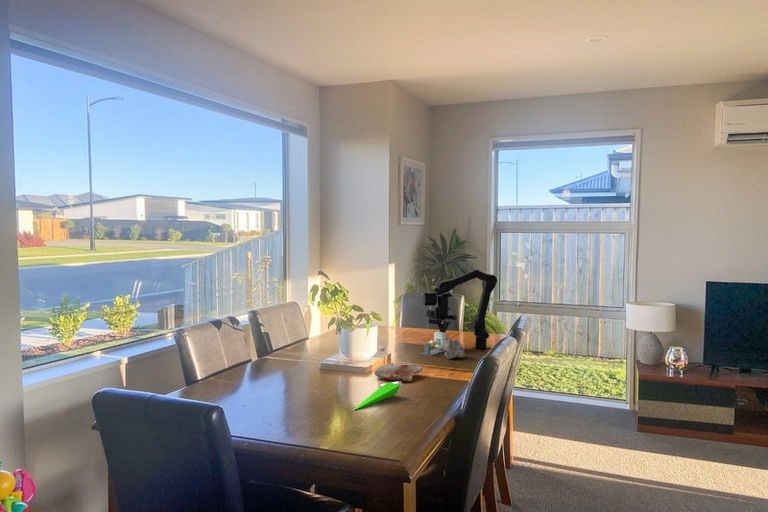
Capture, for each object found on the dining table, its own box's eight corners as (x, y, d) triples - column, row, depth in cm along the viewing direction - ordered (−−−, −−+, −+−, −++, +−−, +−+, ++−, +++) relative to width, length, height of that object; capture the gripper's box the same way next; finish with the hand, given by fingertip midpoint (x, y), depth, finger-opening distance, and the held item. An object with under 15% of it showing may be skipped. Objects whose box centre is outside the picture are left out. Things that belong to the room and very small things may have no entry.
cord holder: (441, 347, 297) (441, 335, 297) (451, 349, 294) (451, 336, 293) (421, 354, 282) (421, 341, 282) (431, 356, 279) (431, 342, 278)
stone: (419, 390, 231) (421, 377, 246) (421, 375, 230) (423, 363, 245) (371, 381, 233) (377, 369, 248) (373, 367, 232) (379, 355, 247)
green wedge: (365, 421, 194) (405, 392, 213) (359, 406, 194) (401, 379, 213) (342, 423, 201) (383, 395, 220) (337, 409, 201) (379, 382, 220)
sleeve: (437, 345, 293) (437, 331, 292) (445, 346, 290) (445, 332, 289) (433, 346, 290) (434, 332, 290) (442, 347, 287) (442, 333, 287)
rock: (465, 364, 275) (465, 346, 281) (461, 353, 266) (461, 334, 272) (447, 365, 277) (447, 347, 283) (442, 354, 268) (442, 335, 274)
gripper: (439, 302, 303) (439, 330, 304) (419, 306, 289) (419, 336, 290) (457, 304, 297) (457, 333, 297) (438, 308, 282) (437, 339, 283)
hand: (442, 335), depth 292 cm, fingers closed
